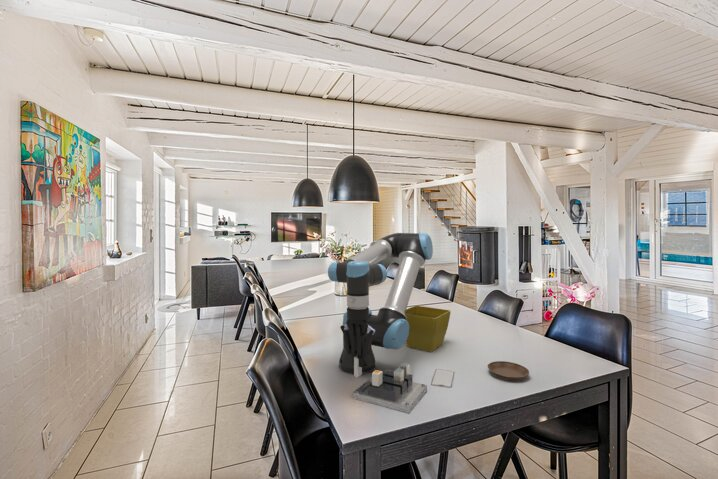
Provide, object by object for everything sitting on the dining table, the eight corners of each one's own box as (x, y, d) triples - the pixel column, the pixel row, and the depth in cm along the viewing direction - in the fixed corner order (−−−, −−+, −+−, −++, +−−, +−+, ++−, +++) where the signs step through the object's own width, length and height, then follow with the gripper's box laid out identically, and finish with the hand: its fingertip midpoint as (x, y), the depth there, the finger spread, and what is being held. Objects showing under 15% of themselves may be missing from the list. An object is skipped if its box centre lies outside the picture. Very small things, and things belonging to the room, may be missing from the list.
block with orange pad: (372, 385, 119) (371, 372, 118) (376, 381, 121) (376, 369, 121) (378, 386, 118) (378, 374, 117) (382, 383, 120) (382, 370, 120)
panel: (353, 398, 121) (353, 371, 120) (375, 378, 136) (375, 355, 135) (409, 413, 111) (409, 384, 111) (426, 390, 126) (427, 365, 125)
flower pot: (415, 337, 185) (415, 304, 184) (451, 344, 174) (451, 309, 173) (397, 347, 170) (397, 312, 169) (435, 356, 159) (435, 318, 158)
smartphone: (454, 371, 142) (451, 387, 128) (454, 372, 142) (451, 389, 128) (435, 368, 144) (430, 384, 130) (435, 370, 144) (430, 386, 130)
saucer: (538, 380, 134) (538, 373, 134) (504, 386, 130) (504, 378, 129) (510, 365, 148) (510, 359, 148) (479, 370, 144) (479, 363, 144)
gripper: (335, 306, 122) (335, 375, 123) (369, 311, 115) (369, 383, 116) (347, 302, 128) (347, 367, 129) (379, 306, 122) (379, 375, 123)
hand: (357, 375), depth 123 cm, fingers closed
